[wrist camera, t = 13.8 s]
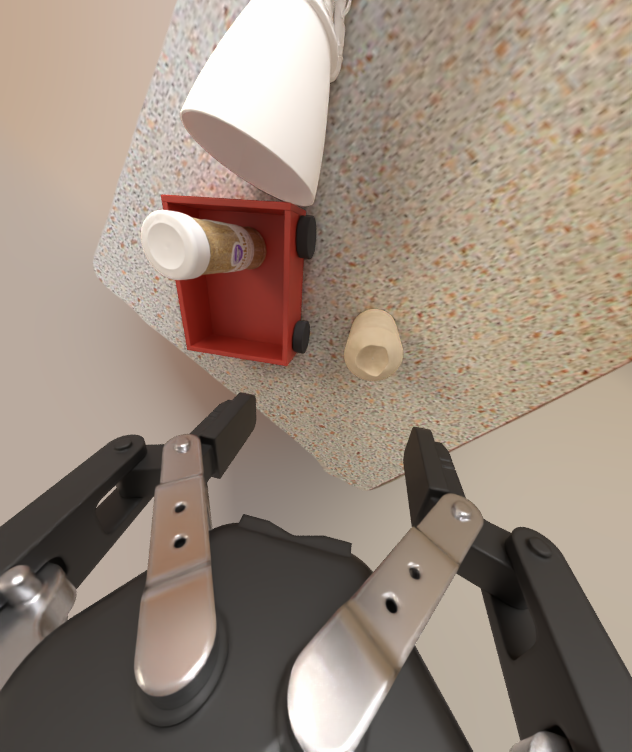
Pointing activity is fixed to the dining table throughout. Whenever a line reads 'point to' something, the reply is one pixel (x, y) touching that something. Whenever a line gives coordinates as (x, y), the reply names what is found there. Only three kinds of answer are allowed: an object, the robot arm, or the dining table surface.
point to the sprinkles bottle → (198, 245)
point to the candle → (373, 346)
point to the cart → (245, 284)
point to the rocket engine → (271, 95)
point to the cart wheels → (306, 251)
